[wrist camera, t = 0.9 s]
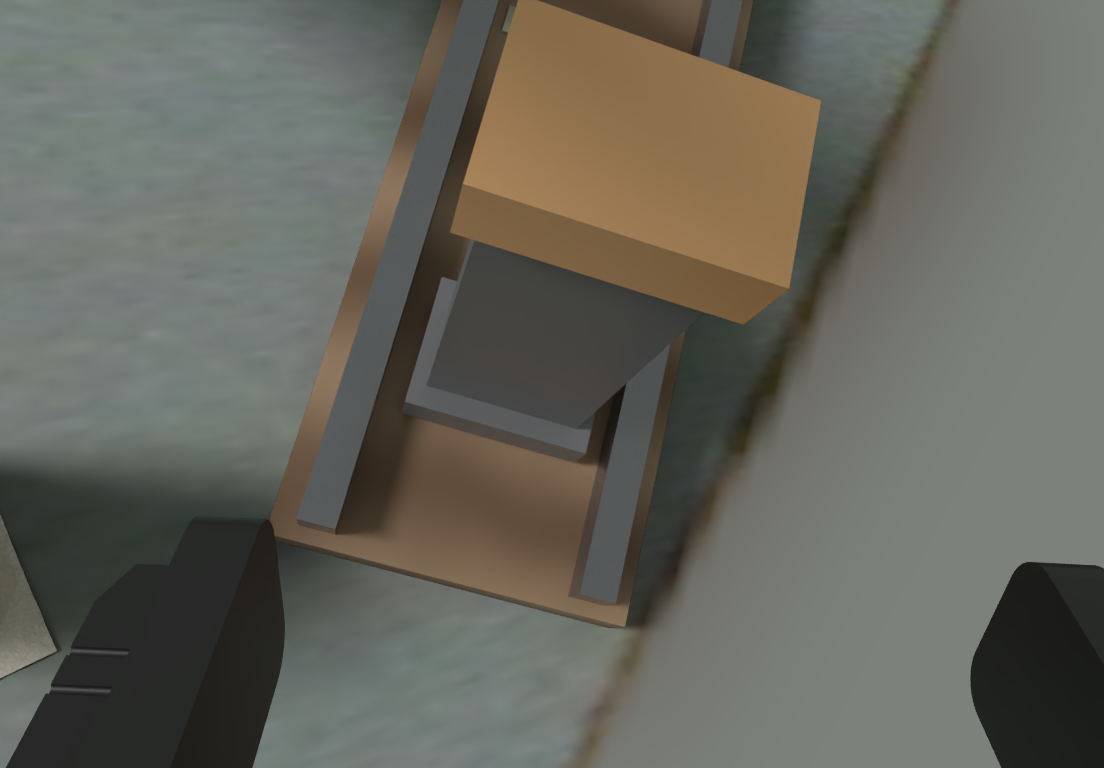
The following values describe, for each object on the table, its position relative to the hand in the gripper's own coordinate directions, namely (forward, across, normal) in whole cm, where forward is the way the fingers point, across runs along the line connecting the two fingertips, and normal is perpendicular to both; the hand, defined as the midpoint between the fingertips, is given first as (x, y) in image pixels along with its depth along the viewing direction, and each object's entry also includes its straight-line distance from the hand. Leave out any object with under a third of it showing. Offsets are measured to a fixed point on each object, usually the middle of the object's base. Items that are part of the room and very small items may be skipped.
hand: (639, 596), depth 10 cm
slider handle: (+20, +2, +10) cm, 22 cm away
